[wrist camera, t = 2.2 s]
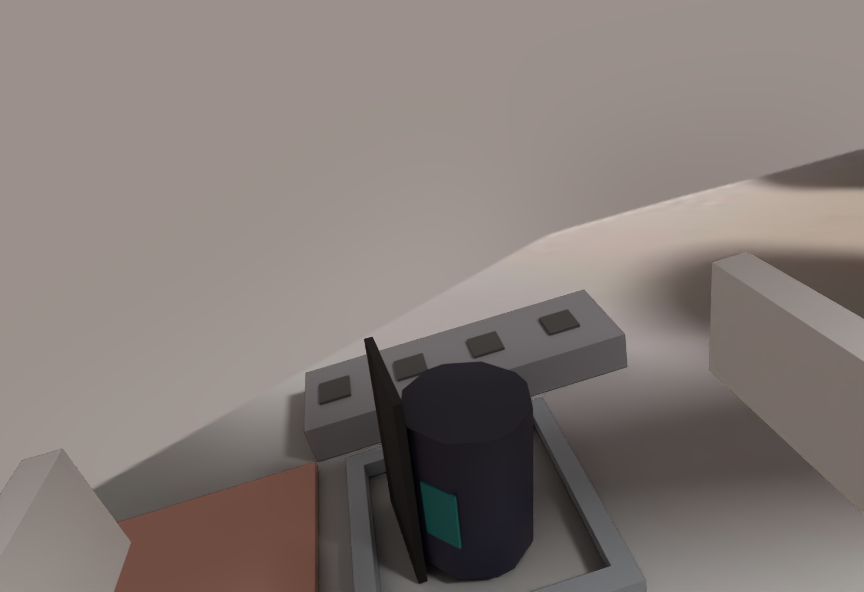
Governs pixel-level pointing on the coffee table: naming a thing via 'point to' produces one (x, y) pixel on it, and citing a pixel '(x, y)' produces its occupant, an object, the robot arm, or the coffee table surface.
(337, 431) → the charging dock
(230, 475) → the coffee table surface
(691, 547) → the coffee table surface
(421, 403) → the speaker
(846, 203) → the coffee table surface
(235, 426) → the coffee table surface
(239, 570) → the mat
